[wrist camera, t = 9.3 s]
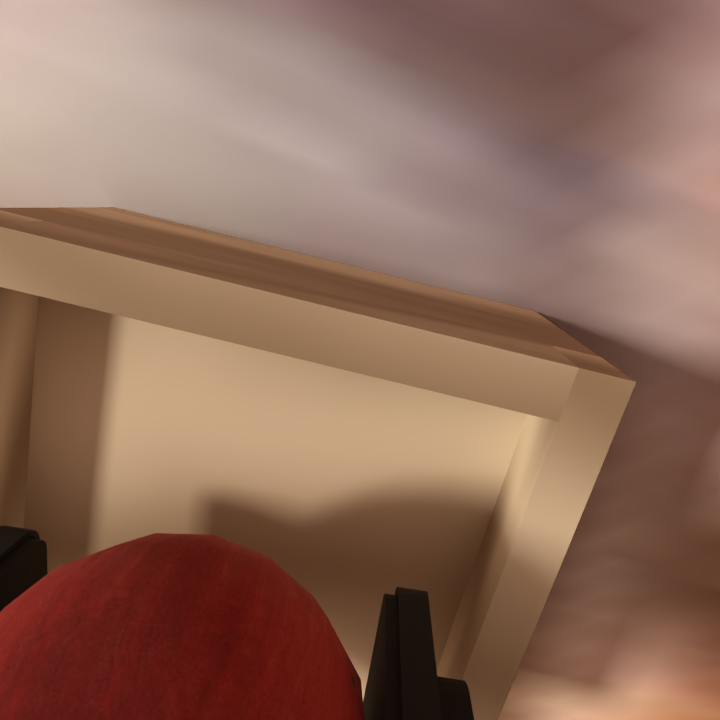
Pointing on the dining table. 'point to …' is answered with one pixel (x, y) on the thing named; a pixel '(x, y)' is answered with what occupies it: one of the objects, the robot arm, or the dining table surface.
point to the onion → (173, 639)
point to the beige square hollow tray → (298, 424)
